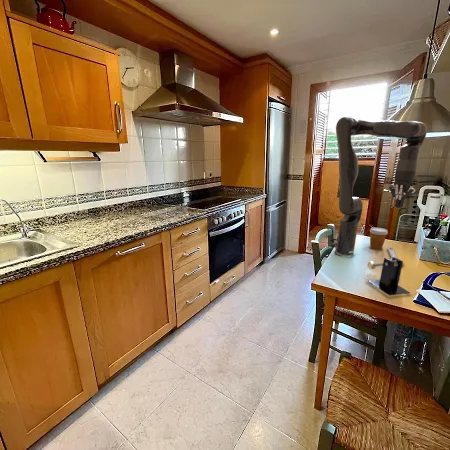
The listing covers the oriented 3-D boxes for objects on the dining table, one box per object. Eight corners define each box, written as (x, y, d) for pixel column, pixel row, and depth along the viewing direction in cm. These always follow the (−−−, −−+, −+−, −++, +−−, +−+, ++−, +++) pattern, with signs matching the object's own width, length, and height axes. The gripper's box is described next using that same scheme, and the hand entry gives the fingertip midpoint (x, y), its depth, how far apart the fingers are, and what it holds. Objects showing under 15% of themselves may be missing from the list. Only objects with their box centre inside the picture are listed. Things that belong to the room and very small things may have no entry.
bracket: (367, 283, 110) (372, 254, 106) (386, 281, 112) (392, 253, 108) (388, 297, 99) (395, 266, 95) (409, 295, 100) (416, 264, 96)
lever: (366, 270, 114) (364, 262, 115) (373, 269, 115) (371, 261, 116) (392, 267, 100) (390, 259, 101) (400, 267, 100) (398, 258, 101)
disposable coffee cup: (384, 246, 153) (387, 228, 149) (385, 251, 145) (388, 232, 141) (367, 244, 157) (369, 226, 154) (366, 249, 149) (370, 230, 146)
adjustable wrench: (387, 249, 149) (387, 246, 148) (400, 251, 145) (400, 248, 145) (388, 264, 128) (389, 261, 128) (403, 267, 125) (404, 264, 124)
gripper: (386, 169, 115) (380, 205, 119) (412, 170, 102) (403, 211, 107) (400, 168, 116) (393, 204, 121) (427, 170, 103) (418, 210, 108)
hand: (398, 207), depth 114 cm, fingers closed
